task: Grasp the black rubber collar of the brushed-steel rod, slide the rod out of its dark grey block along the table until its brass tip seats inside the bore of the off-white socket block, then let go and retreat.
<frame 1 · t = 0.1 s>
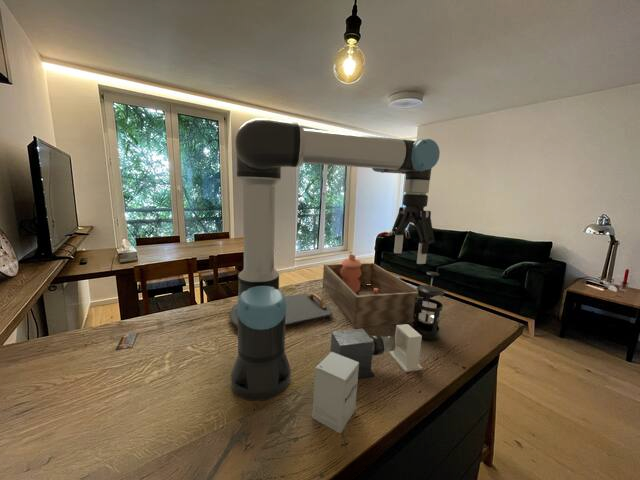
hand: (408, 258, 92), 28 cm above the table, fingers open, 13 cm apart
supplement box: (334, 415, 61), on the table
serving board: (281, 316, 107), on the table
socket: (405, 361, 82), on the table
rod: (366, 346, 77), point 6 cm above the table, slide at 0.0 cm
chocolate bar: (127, 342, 85), on the table
ceramic vessels: (364, 303, 123), resting in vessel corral
dark grey block: (349, 369, 77), on the table
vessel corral: (364, 302, 123), on the table
french press: (423, 333, 98), on the table
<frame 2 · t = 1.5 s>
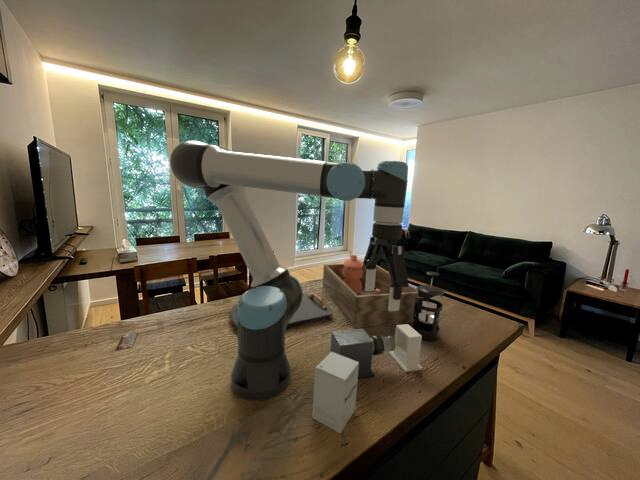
hand: (380, 299, 75), 20 cm above the table, fingers open, 13 cm apart
ceramic vessels: (366, 304, 122), resting in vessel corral
everything else where it was.
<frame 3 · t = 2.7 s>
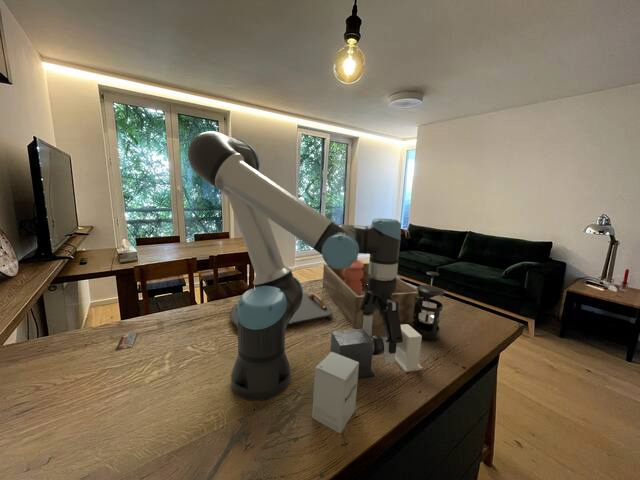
hand: (377, 347, 78), 6 cm above the table, fingers open, 13 cm apart
ceramic vessels: (367, 304, 121), resting in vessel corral
everything else where it was.
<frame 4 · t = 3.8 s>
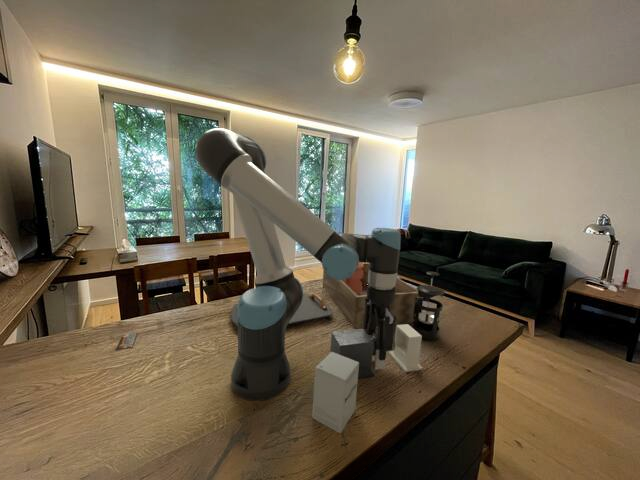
hand: (374, 361, 79), 1 cm above the table, fingers closed on rod, 5 cm apart
rod: (366, 346, 77), point 6 cm above the table, slide at 0.0 cm, touching gripper
ceramic vessels: (367, 304, 121), resting in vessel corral
everything else where it was.
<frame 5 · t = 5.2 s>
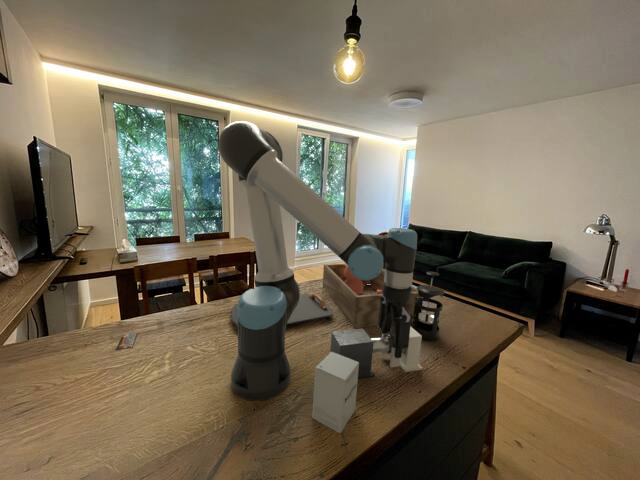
hand: (389, 359, 80), 1 cm above the table, fingers closed on rod, 5 cm apart
rod: (381, 344, 78), point 6 cm above the table, slide at 4.9 cm, touching gripper
ceramic vessels: (367, 304, 121), resting in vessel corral
everything else where it was.
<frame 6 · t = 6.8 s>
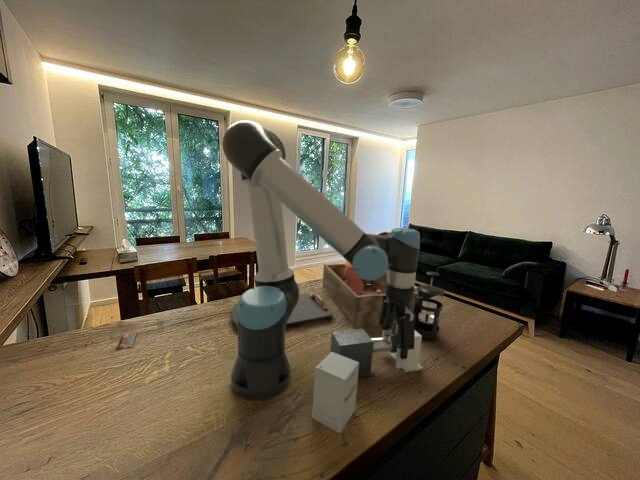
hand: (392, 357, 80), 2 cm above the table, fingers open, 8 cm apart
rod: (384, 344, 79), point 6 cm above the table, slide at 5.8 cm
ceramic vessels: (367, 304, 121), resting in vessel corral
everything else where it was.
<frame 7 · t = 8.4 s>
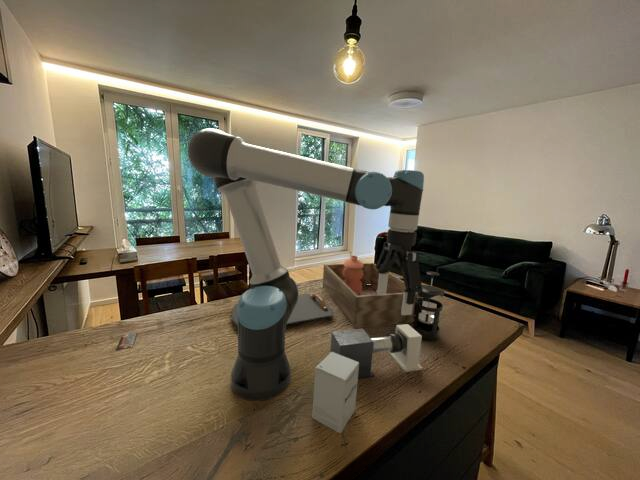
hand: (392, 303, 78), 18 cm above the table, fingers open, 13 cm apart
nothing on the table moved.
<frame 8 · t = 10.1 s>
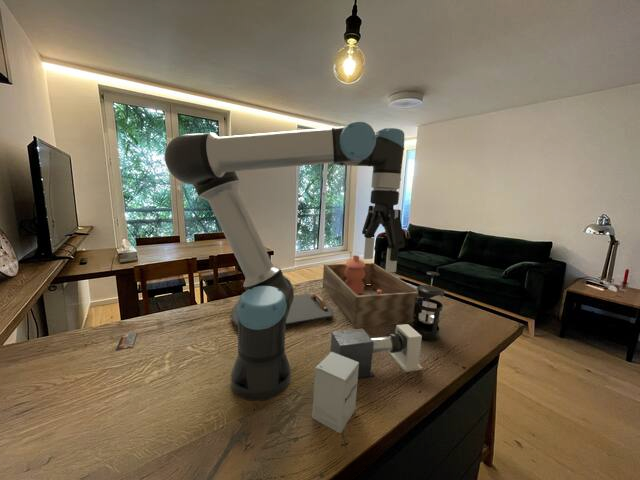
hand: (378, 264, 79), 29 cm above the table, fingers open, 13 cm apart
ceramic vessels: (368, 304, 121), resting in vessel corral
everything else where it was.
at the end: rod slide at 5.8 cm; the gripper is holding nothing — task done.
